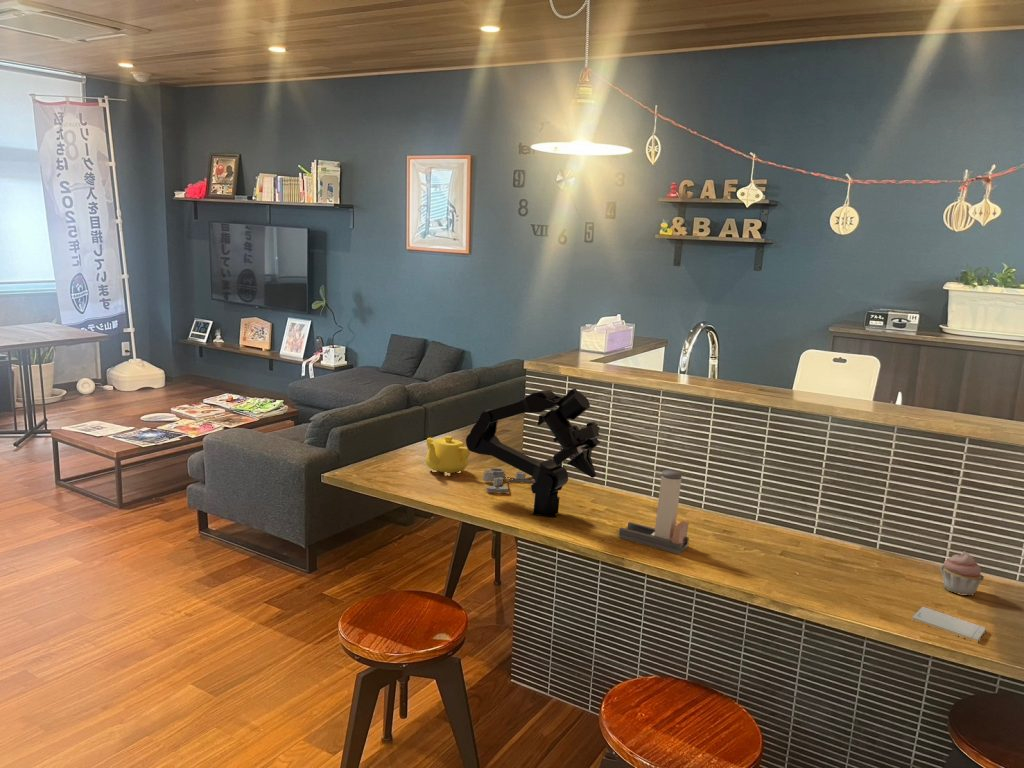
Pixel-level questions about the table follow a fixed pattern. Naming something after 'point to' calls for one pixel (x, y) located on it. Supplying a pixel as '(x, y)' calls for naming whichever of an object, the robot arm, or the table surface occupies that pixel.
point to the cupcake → (961, 574)
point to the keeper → (667, 504)
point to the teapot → (447, 455)
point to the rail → (644, 537)
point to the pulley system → (499, 476)
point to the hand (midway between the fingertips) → (594, 476)
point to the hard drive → (949, 623)
